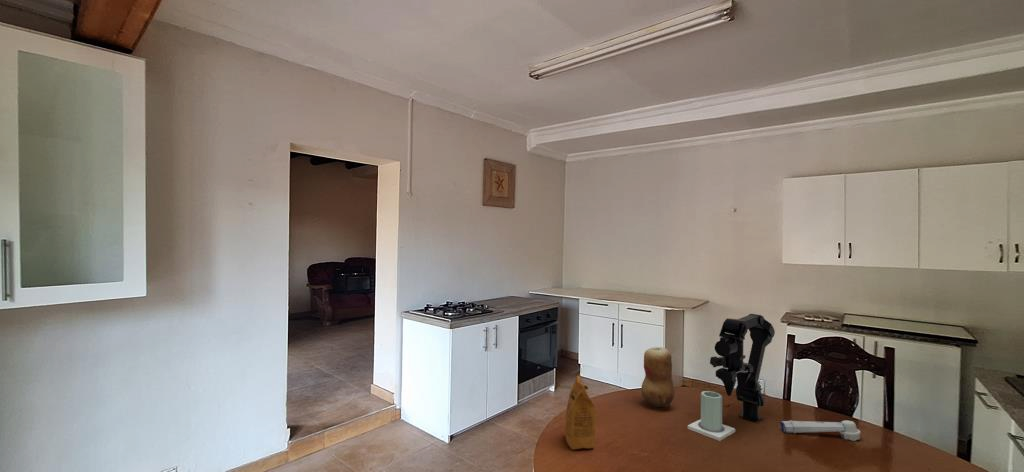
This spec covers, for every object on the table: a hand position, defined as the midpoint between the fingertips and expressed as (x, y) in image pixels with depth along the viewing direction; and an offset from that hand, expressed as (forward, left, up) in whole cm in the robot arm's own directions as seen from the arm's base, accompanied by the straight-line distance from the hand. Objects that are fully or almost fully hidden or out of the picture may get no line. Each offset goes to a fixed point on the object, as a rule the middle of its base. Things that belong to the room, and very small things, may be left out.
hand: (734, 392), depth 158 cm
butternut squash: (+6, -29, -13) cm, 32 cm away
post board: (+10, -4, -13) cm, 17 cm away
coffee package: (+57, -27, -13) cm, 64 cm away
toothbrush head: (-19, +22, -14) cm, 32 cm away
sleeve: (+10, -4, -12) cm, 16 cm away
